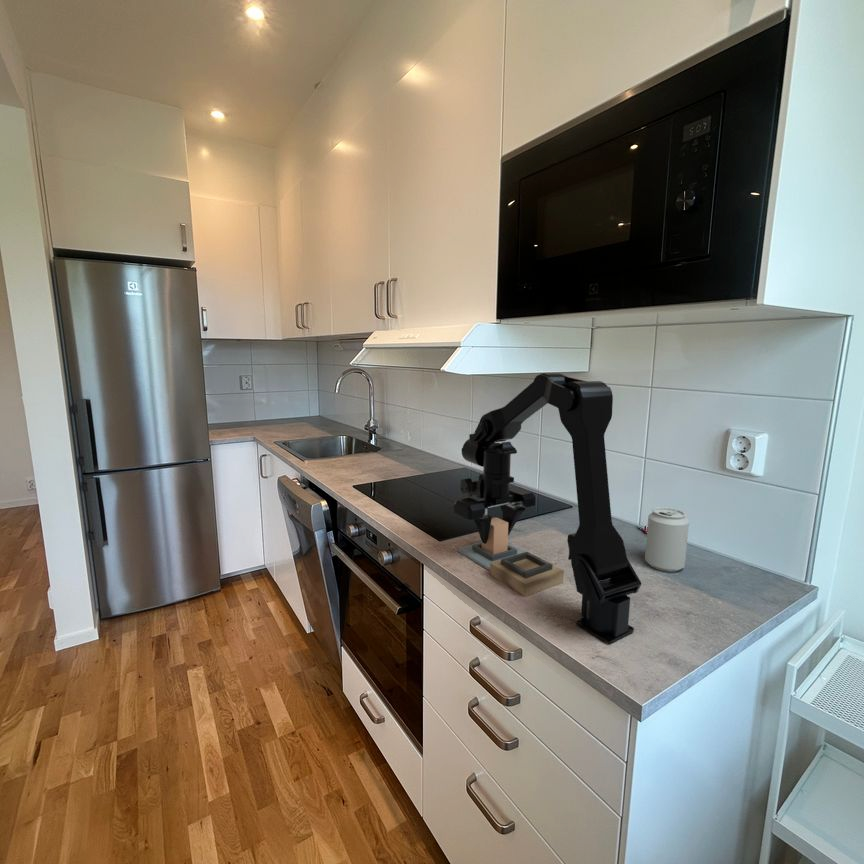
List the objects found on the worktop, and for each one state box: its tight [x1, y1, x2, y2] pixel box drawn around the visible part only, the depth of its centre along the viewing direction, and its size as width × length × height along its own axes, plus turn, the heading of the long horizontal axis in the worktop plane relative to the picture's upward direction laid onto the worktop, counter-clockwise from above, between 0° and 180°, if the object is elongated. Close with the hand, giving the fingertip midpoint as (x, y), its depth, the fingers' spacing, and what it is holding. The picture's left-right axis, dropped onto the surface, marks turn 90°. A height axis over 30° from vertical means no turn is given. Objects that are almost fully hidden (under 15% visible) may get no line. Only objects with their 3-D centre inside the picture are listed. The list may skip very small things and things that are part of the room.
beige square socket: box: [489, 551, 565, 597], centre depth 89 cm, size 10×10×4 cm
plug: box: [482, 517, 509, 555], centre depth 100 cm, size 4×4×7 cm
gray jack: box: [456, 541, 527, 572], centre depth 100 cm, size 12×12×2 cm
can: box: [644, 506, 690, 573], centre depth 95 cm, size 8×8×12 cm
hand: (494, 540), depth 100 cm, fingers open, 6 cm apart
